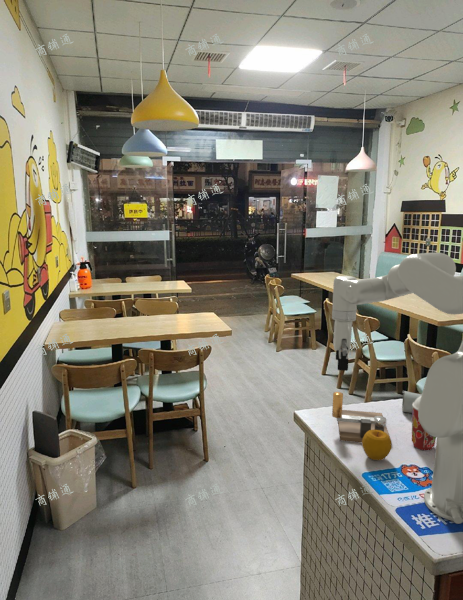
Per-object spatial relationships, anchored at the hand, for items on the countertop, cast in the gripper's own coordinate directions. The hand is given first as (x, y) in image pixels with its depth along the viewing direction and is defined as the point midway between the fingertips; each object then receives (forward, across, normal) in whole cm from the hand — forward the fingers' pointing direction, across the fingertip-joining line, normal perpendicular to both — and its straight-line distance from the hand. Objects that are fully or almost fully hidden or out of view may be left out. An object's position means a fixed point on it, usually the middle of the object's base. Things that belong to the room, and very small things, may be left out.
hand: (341, 364), depth 142 cm
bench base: (+24, -4, +8) cm, 26 cm away
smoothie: (+25, +4, +26) cm, 36 cm away
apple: (+25, +14, +10) cm, 30 cm away
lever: (+20, 0, +7) cm, 21 cm away
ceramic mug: (+25, -22, +29) cm, 44 cm away
